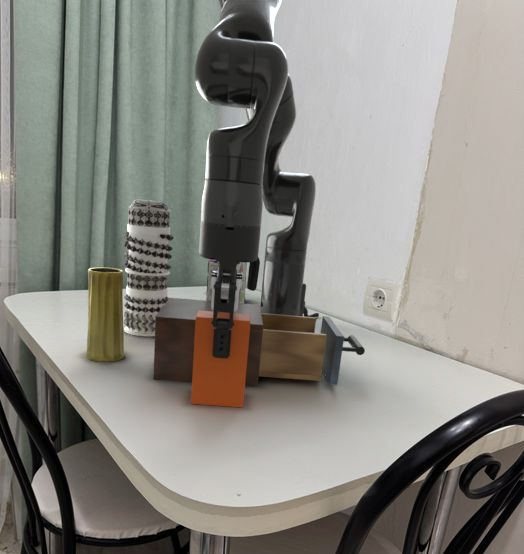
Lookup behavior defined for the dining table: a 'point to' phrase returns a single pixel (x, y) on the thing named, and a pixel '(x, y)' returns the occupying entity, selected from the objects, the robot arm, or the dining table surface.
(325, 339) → the drawer
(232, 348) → the orange rectangular prism
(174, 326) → the cabinet
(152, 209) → the white patterned cylinder
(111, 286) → the vase
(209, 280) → the candy bar box
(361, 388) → the dining table surface
